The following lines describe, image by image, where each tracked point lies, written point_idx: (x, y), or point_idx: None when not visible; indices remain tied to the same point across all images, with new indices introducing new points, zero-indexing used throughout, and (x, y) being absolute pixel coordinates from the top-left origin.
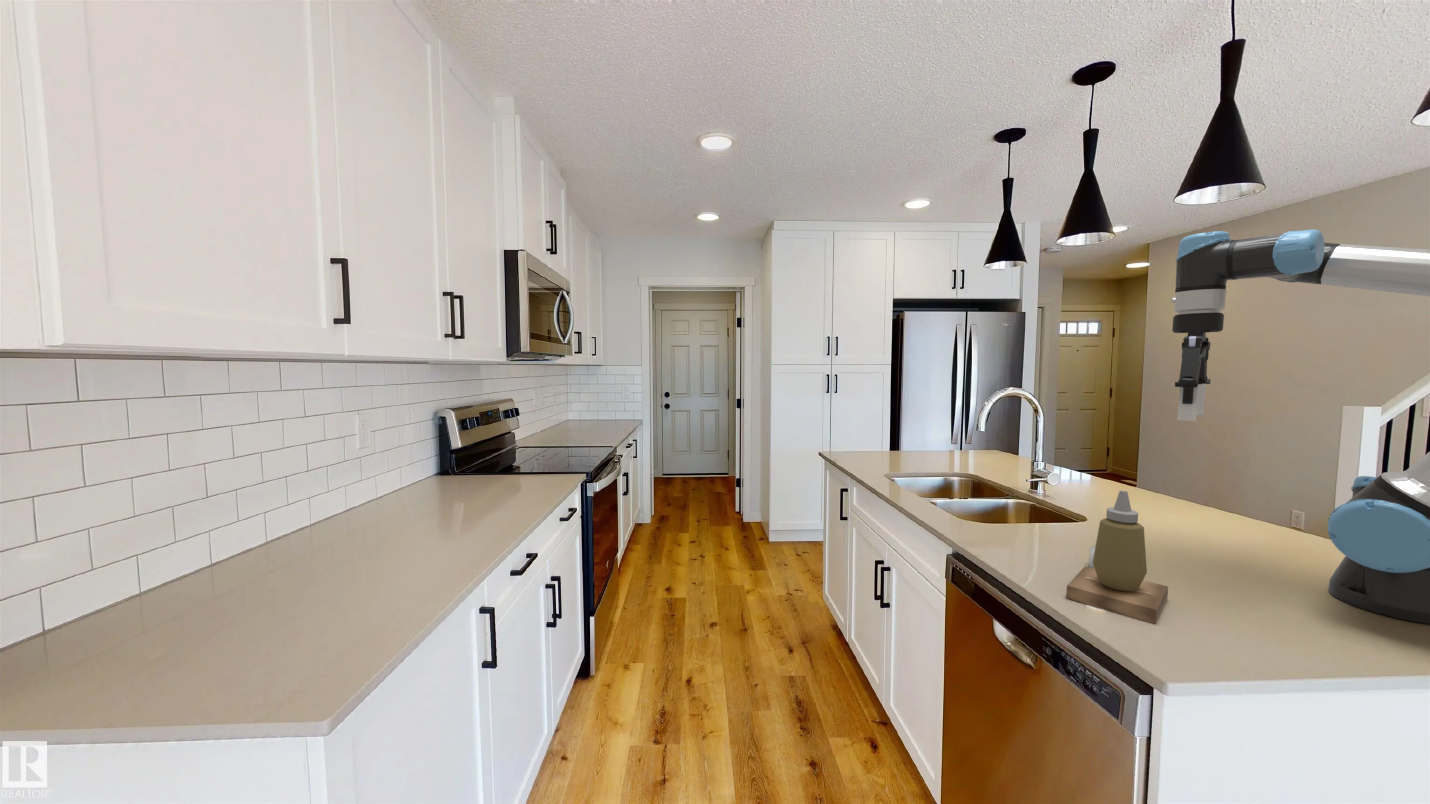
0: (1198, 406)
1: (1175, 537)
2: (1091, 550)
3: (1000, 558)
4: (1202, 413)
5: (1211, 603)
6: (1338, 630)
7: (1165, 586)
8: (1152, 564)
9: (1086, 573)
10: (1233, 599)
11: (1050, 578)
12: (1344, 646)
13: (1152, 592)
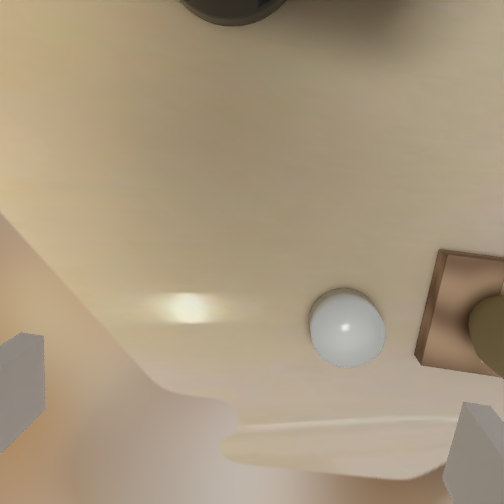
0: (3, 393)
1: (64, 230)
2: (360, 364)
3: (397, 463)
4: (37, 345)
5: (415, 193)
6: (425, 39)
7: (450, 258)
8: (267, 266)
9: (459, 361)
10: (373, 163)
11: (448, 395)
12: (494, 42)
13: (496, 275)
